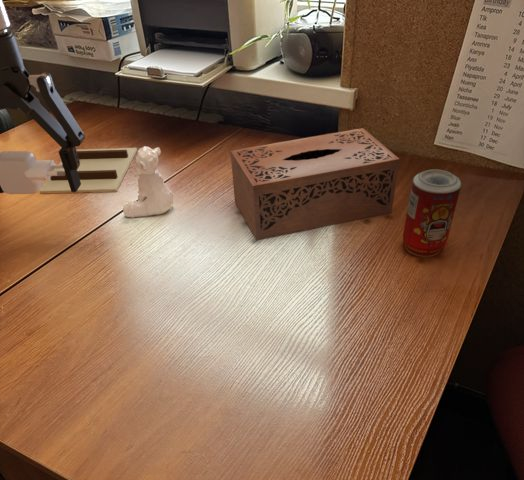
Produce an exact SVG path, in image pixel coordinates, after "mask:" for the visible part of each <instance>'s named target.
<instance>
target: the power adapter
mask: <svg viewBox="0 0 524 480" xmlns="http://www.w3.org/2000/svg"><path fill="white" fill-rule="evenodd" d="M35 156H36V155H35V154H34V153H33V152H32V151H29V150H5V151H2V150H1V151H0V186H1V188H2V190H3V191H4V194H7V195H35V194H37V193H39V191H40V189H41V188H42V187H43V185H44V184H45V181H47V180H49V179H50V177H51V176H65V175H66V173H65V172H64V171H55V170H56V169H57V168H64V167H63V164H59V163H56V162H55V160H54V159H37V158H36V157H35Z"/></svg>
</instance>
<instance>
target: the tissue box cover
mask: <svg viewBox="0 0 524 480" xmlns="http://www.w3.org/2000/svg"><path fill="white" fill-rule="evenodd" d="M229 151H230V161H231V163H230V164H231V170H232V171H231V173H232V183H233V185H232V186H233V195H234V203H235V205H236V206H237V208H238V210H239V212H240V214H241V215H242V217H243V219H244V221H245V222H246V224H247V227H248V228H249V230H250V231H251V234H252V235H253V237H254V239H255V240H256V241H260V240H265V239H269V238H274V237H279V236H285V235H289V234H294V233H299V232H305V231H308V230H312V229H318V228H322V227H323V228H324V227H327V226H328V227H329V226H331V225H332V226H333V225H338V224H341V223H347V222H352V221H357V220H362V219H367V218H373V217H376V216H382V215H386V214H387V215H388V214H391V213H392V212H393V205H394V199H395V192H396V187H397V186H396V185H397V179H398V172H399V166H400V158H399V157H398V156H397V155H396V154H395V153H393V151H391V150H389V149H388V148H387V147H386V146H385V145H384V144H383V143H382V142H380V140H378V139H377V138H376V137H374V136H373V135H372V134H371V133H370V132H369V131H367V130H366V128H363V127H361V128H354V129H348V130H343V131H338V132H337V131H336V132H331V133H325V134H319V135H313V136H307V137H302V138H296V139H291V140H284V141H278V142H273V143H266V144H260V145H255V146H248V147H243V148H237V149H232V150H229Z"/></svg>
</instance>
